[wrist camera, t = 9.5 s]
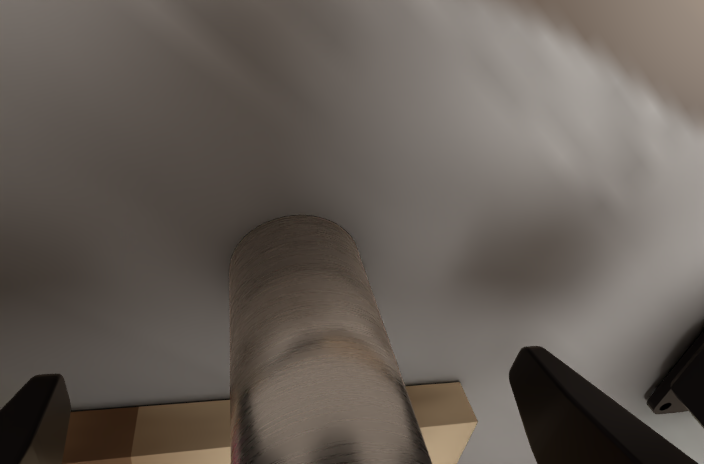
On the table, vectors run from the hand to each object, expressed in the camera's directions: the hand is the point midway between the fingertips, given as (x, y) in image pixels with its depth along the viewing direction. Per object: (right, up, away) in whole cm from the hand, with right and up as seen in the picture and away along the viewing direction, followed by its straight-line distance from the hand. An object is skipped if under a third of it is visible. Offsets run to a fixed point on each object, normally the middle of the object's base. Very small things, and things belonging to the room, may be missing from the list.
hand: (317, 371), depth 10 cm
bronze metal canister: (-1, +2, +2) cm, 3 cm away
